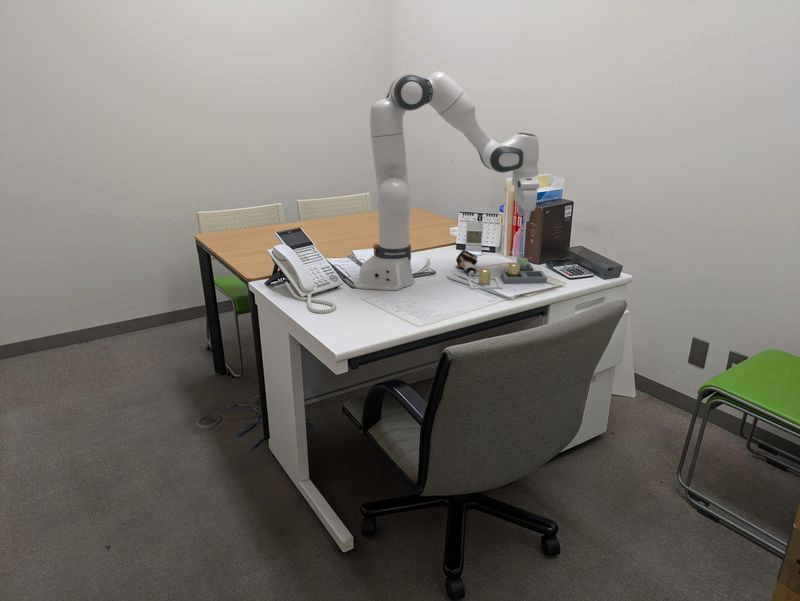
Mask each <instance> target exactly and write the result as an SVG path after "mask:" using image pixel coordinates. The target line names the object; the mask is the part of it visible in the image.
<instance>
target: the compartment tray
mask: <svg viewBox="0 0 800 601" xmlns="http://www.w3.org/2000/svg"><path fill="white" fill-rule="evenodd" d="M499 278H500V280H501V281H502V283H503V285H518V284H519V285H524V284H525V285H529V284H530V285H533V284H534V285H535V284H539V285H540V284H549V282H548V276H547V275H546V274H545V273H544V272H543V270H533V271H519V277H508V270H501V271H500V275H499Z"/></svg>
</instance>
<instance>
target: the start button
mask: <svg viewBox="0 0 800 601" xmlns="http://www.w3.org/2000/svg"><path fill="white" fill-rule="evenodd" d="M516 263H519V264H520V268H527V263H529V260H528V258H526V257H517V259H516Z"/></svg>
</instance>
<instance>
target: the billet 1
mask: <svg viewBox="0 0 800 601" xmlns="http://www.w3.org/2000/svg"><path fill="white" fill-rule="evenodd" d="M478 270H479V272H478V273H479V276H478V277H479V280H478V285H479V284H481V285H488V286H490V285H489V284H491V280H490V277H491V269H490V268H488V267H482V268H479V269H478ZM481 285H480V286H481Z"/></svg>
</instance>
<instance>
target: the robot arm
mask: <svg viewBox="0 0 800 601" xmlns="http://www.w3.org/2000/svg"><path fill="white" fill-rule="evenodd" d="M425 105H429V106H430V107H431V108H433V109H434V110H435V111H436V112H437V114H438V115H439V116H440V117H441V118H442V119H443V120H444V121H445V122H446V123H448V124H449V125H450V126H451V127H452V128H454V129H455V130H458V131H459V132H461V133H462V134H463V135H464V136H465V137H466V139H467V140H468V141H469V142H470V144H472V145H473V147H474V148H475V149H476V150H477V152H478V154H479V158H480V161H481V163H482V164H483V166H484V167H485V168H487V169H489V170H492V171H494V172H497V173H501V174H502V173H507V172H512V178H511V181H512V182H511V183H512V186H514V190H513V200H514V202H515V203H516V204H517V205H516V207H517V216H520V217H521V216H522V217H523V222H525V223H526V222H527V223H528V222H529V221H530V218H531V214H532V212H533V211H534V212H535V210H536V206H537V200H538V189H540V181H539V169H538V162H539V159H540V145H539V143H540V142H539V139H538V137H537V136H536V135H535V134H532V133H527V132H517V133H515V134H514V136H512V137H511V138H509V139H508V140H505V141H504V142H503V141H502V142H501V141H498V140H496V139H493V138H492V136H490V135H489V134H488V132H487V131H486V130H485V129H484V128H483V126H482V125H481V124H480V123H479V121H478V120H477V118H476V105H475V104H474V102H473V101H472V99H471V97H470V96H469V95H468V93H467V92H466V91H465V90H464V89H463V87H461V85H460V84H458V82H457V81H456V80H454V78H452V77H451V76H449V75H448V74H447V73H446V72H444V71H442V70H441V71H439V70H438V71H435V72H433V73H431V74H429V75H428V76H427V78H425V77H422V76H419V75H414V74H408V73H406V74H401V75H400V76H398V77H396V78H395V79H394V81H393V82H392V83H391V85H390V87H389V90H388V93H387V94H386V98H383V99H379V100H377V101H375V102H374V103H373V104H372V105H371V108H370V115H369V123H370V125H369V127H370V135H371V136H370V138H371V145H372V146H371V148H372V155H373V162H374V169H375V170H374V171H375V179H376V185H377V212H378V213H377V214H378V243H379V244H378V243H374V244H373V245H372V249H373V255H372V256H371V257H370V258H368V259H367V260H365V261H364V262H363V263H362V265H361V266H360V268H359V273H358V275H357V276H359V277H356V276H355V277H354V278H353V286H354V288H356V289H360V290H361V289H363V290H380V291H399V290H400V289H402V288H406V287H410V286H412V285H414V283H415V279H414V274H413V270H412V264H411V259H412V246H411V240H410V236H411V235H410V229H411V228H410V224H411V223H410V220H411V218H410V217H411V214H410V213H411V191H410V188H409V187H410V186H409V179H408V168H407V166H408V165H407V154H406V145H405V134H404V126H403V120H404V119H403V118H404V115H405V113H406V112H407V111H408V112H410V111H416V110H418V109H420V108H421V107H423V106H425Z"/></svg>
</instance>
